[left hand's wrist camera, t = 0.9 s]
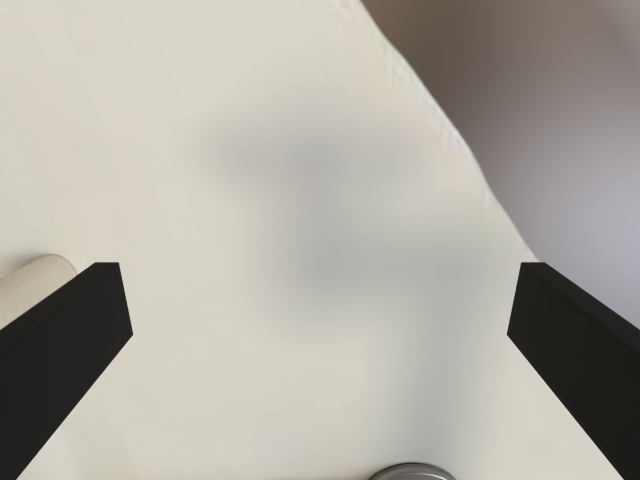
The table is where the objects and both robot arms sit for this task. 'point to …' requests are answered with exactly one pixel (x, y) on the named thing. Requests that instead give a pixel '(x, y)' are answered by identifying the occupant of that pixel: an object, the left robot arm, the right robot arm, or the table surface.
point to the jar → (32, 285)
